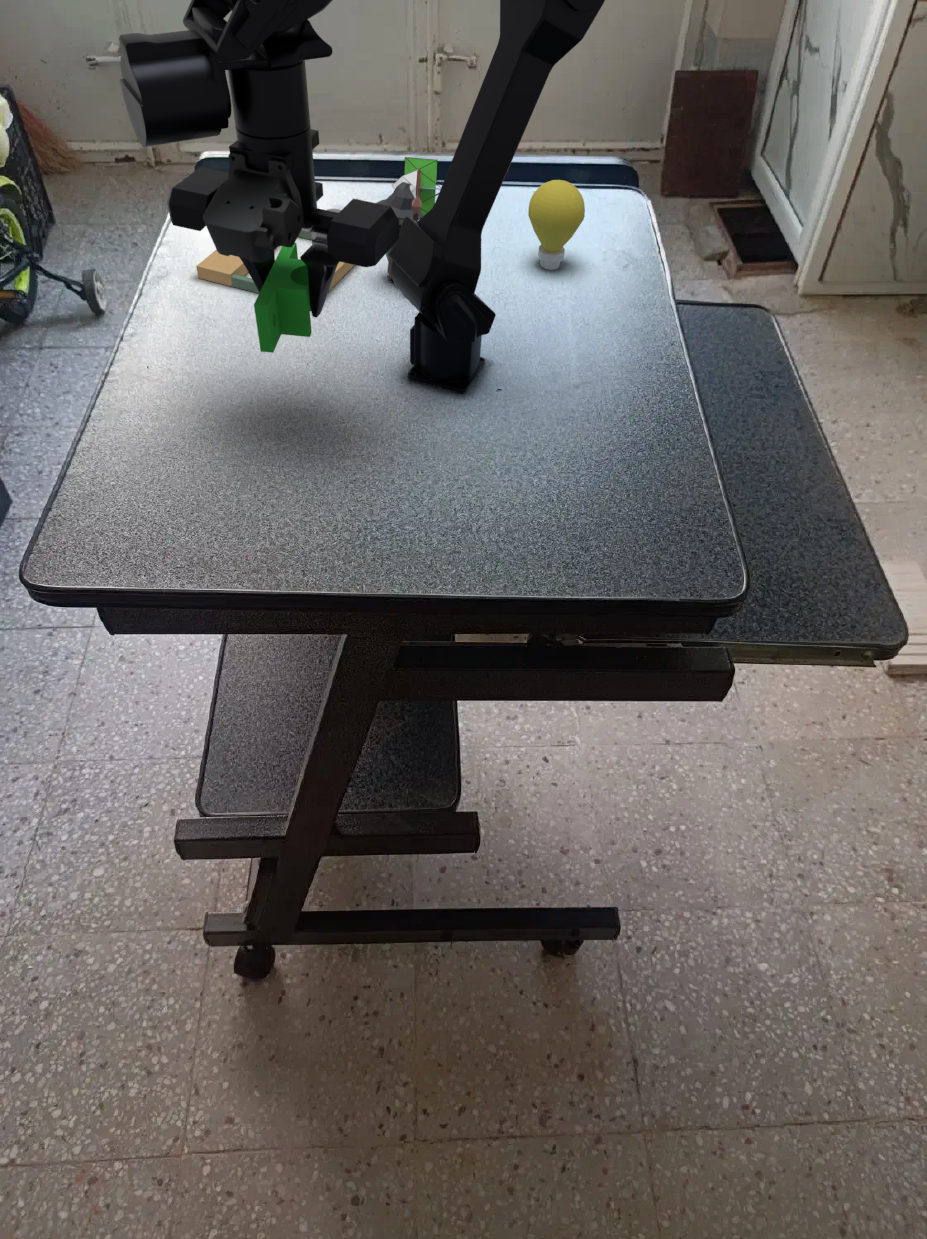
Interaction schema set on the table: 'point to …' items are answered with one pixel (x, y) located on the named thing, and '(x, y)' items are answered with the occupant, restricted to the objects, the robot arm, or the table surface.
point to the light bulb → (555, 219)
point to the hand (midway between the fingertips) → (293, 309)
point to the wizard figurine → (402, 210)
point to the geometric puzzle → (421, 180)
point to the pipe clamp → (283, 301)
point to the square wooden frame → (245, 270)
